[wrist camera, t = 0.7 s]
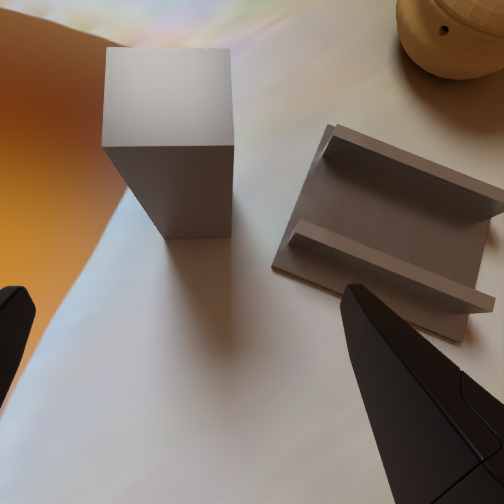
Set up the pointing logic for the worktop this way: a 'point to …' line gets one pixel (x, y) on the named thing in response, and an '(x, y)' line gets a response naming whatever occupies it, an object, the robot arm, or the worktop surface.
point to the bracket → (392, 230)
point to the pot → (453, 36)
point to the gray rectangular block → (173, 135)
